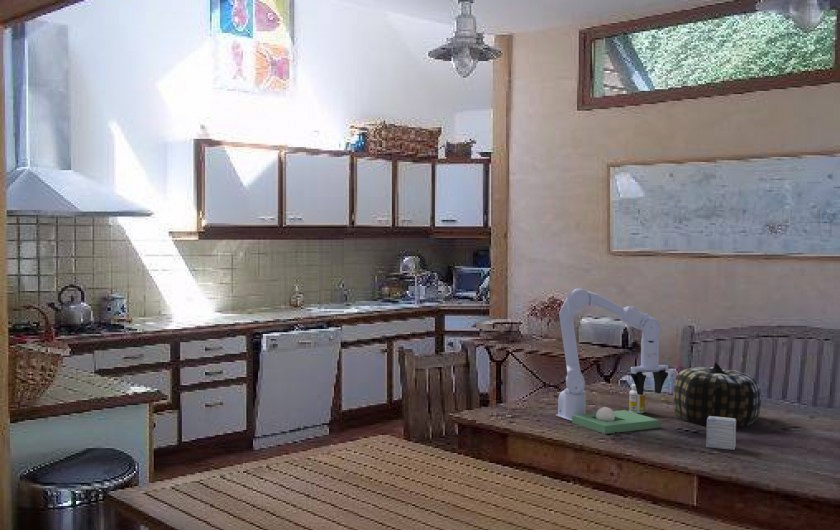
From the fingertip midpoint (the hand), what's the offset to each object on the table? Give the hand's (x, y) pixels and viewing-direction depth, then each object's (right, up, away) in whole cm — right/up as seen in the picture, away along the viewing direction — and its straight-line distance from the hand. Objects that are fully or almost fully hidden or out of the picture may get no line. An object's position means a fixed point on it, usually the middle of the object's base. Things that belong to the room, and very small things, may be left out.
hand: (649, 393), depth 285 cm
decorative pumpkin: (+25, -10, +7) cm, 27 cm away
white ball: (-16, -6, -7) cm, 19 cm away
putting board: (-13, -10, -6) cm, 17 cm away
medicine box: (+12, -11, -34) cm, 37 cm away
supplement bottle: (0, -9, +16) cm, 18 cm away
